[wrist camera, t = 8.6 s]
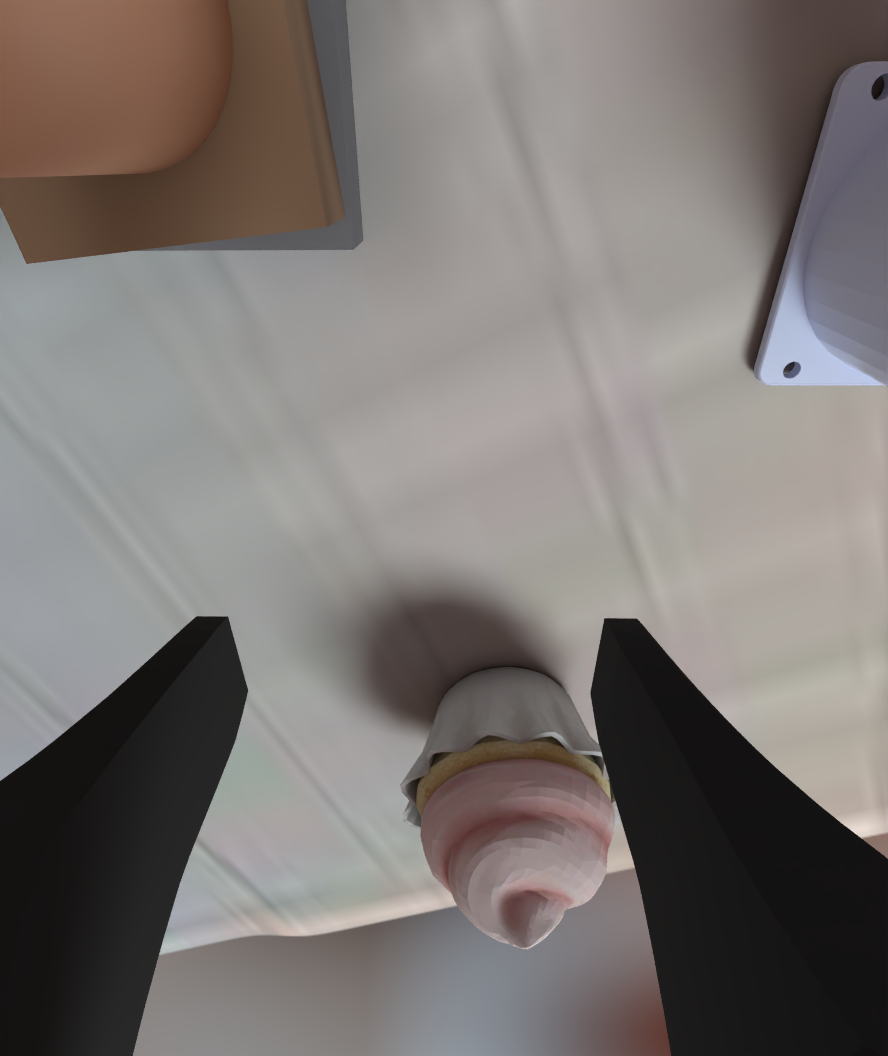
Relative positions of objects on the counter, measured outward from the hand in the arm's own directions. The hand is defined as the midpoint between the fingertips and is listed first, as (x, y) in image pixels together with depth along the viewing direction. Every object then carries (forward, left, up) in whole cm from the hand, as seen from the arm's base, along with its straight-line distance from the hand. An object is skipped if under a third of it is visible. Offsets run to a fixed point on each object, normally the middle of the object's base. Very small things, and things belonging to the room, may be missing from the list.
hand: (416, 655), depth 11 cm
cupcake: (-3, +14, -11) cm, 18 cm away
